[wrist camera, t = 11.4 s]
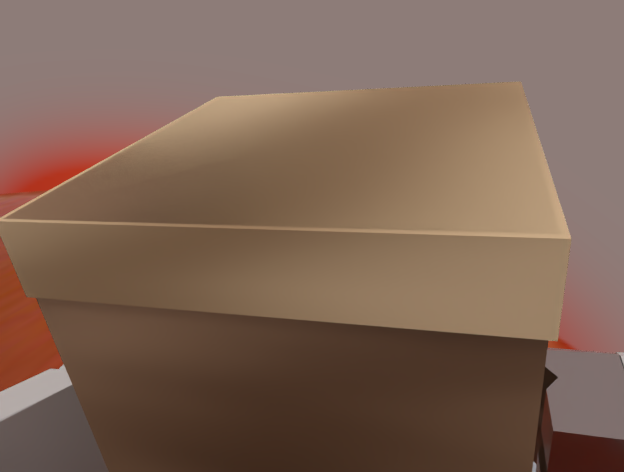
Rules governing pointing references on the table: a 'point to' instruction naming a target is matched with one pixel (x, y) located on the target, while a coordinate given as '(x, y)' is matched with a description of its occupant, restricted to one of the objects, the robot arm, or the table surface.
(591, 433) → the robot arm
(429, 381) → the column block
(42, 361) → the table surface
